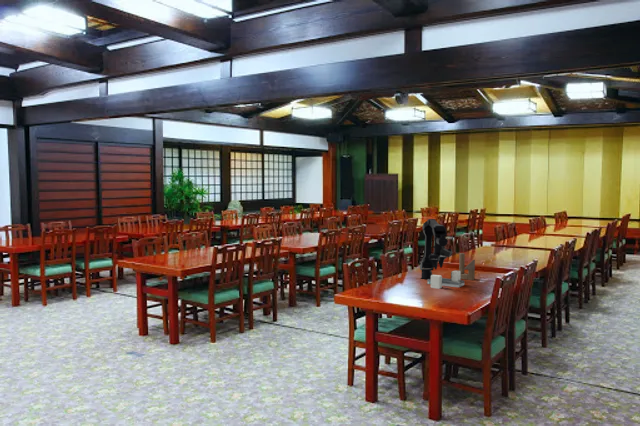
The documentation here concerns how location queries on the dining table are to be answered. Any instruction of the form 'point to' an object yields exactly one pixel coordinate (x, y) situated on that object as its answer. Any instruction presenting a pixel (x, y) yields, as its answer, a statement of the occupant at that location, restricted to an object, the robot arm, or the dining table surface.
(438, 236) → the robot arm
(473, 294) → the dining table surface
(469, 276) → the beige frame piece
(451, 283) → the rail
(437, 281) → the white rectangular block
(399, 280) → the dining table surface
